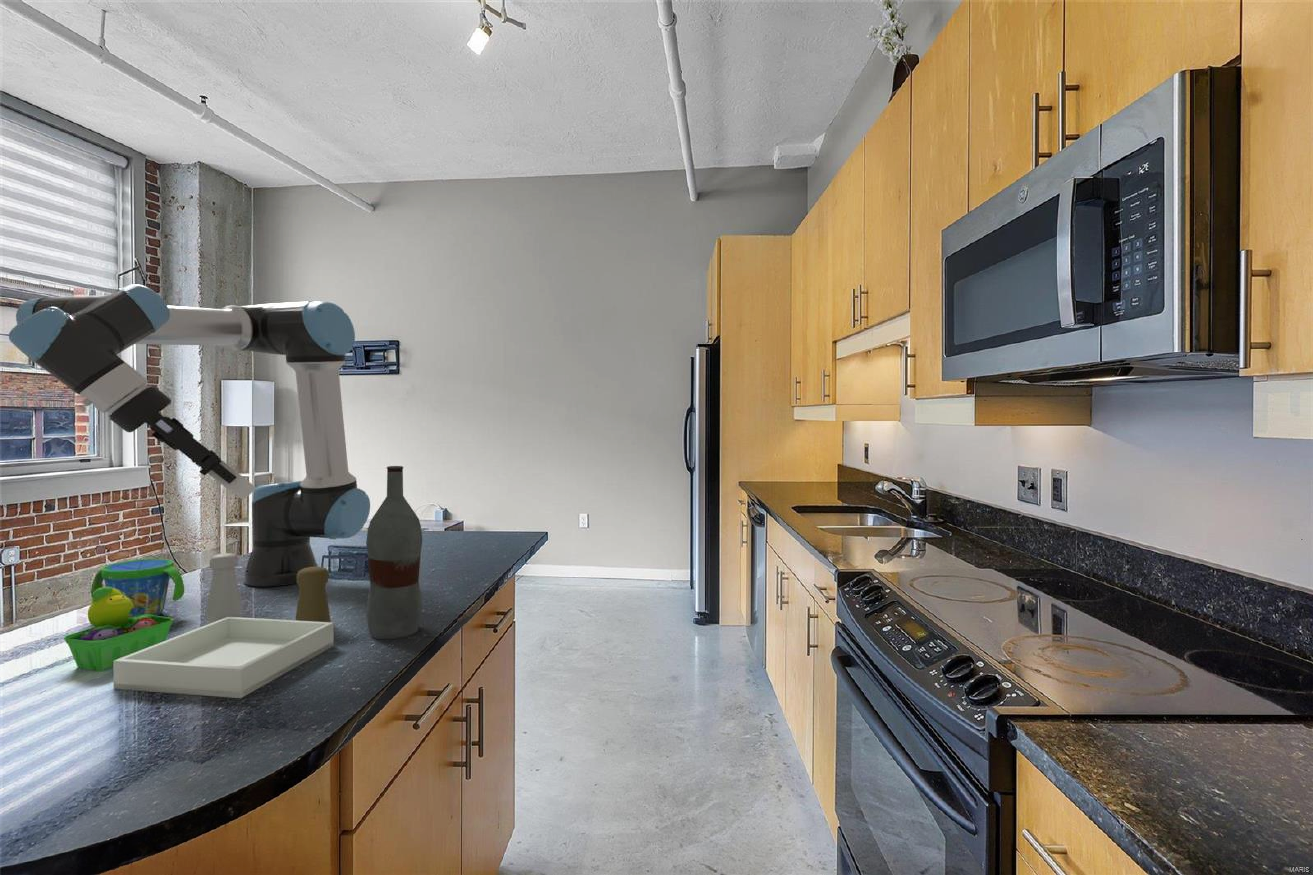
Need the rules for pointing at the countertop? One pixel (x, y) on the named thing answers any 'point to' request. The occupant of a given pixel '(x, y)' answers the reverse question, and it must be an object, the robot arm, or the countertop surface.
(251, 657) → the bin
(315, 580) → the cork
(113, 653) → the fruit basket
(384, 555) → the bottle
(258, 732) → the countertop surface
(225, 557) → the salt shaker
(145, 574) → the snack cup
